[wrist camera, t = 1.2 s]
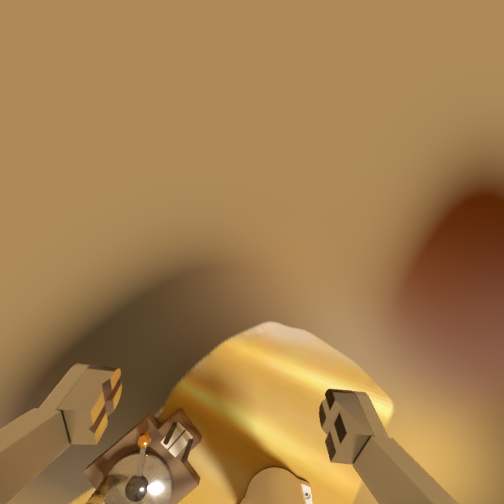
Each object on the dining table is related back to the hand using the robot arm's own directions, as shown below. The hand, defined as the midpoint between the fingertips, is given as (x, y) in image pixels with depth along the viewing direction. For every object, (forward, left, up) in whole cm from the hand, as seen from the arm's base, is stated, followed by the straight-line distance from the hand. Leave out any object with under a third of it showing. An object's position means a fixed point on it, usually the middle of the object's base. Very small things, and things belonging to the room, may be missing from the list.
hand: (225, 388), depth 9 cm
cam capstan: (-35, +37, -53) cm, 74 cm away
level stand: (-36, +35, -55) cm, 74 cm away
